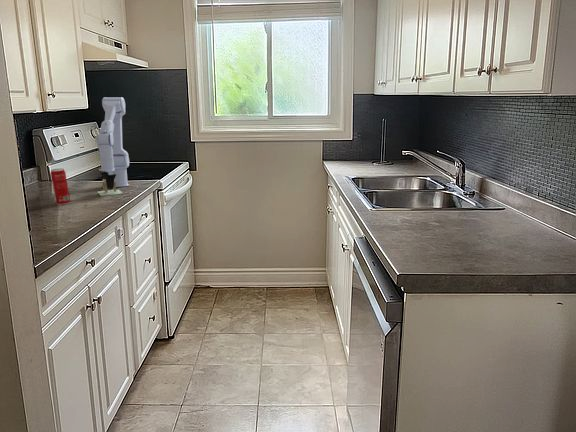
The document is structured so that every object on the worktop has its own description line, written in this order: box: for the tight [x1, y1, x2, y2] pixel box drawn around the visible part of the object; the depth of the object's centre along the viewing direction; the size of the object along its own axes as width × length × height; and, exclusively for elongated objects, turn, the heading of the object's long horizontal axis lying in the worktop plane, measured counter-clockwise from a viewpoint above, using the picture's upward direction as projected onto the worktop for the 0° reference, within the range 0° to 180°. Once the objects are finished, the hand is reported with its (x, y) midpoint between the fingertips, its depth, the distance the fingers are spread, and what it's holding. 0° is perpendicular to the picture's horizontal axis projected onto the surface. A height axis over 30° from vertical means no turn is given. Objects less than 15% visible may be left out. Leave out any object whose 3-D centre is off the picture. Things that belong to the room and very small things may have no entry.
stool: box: [102, 178, 117, 193], centre depth 235 cm, size 5×5×6 cm
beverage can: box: [50, 168, 71, 206], centre depth 212 cm, size 6×6×15 cm
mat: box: [97, 189, 124, 197], centre depth 236 cm, size 10×10×1 cm
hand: (109, 187), depth 235 cm, fingers closed on stool, 5 cm apart
